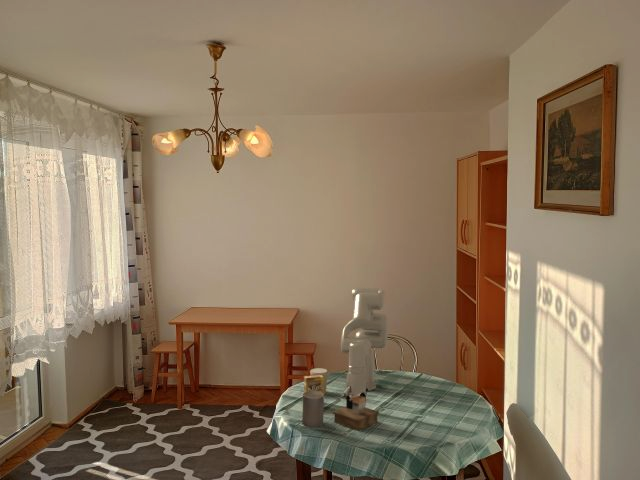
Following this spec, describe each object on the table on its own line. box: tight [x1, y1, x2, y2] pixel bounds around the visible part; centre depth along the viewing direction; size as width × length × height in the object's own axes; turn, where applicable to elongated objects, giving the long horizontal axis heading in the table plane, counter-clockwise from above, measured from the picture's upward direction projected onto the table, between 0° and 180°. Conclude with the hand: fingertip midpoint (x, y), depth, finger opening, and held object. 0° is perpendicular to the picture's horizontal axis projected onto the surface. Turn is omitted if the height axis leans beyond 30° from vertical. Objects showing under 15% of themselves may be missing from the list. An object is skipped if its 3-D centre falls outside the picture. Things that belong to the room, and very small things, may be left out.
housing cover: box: [349, 394, 365, 404], centre depth 267 cm, size 4×7×2 cm, turn 48°
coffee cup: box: [309, 367, 329, 395], centre depth 308 cm, size 9×9×12 cm
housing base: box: [347, 400, 367, 415], centre depth 268 cm, size 5×7×5 cm
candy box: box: [303, 375, 323, 393], centre depth 287 cm, size 9×4×15 cm, turn 107°
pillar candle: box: [301, 391, 325, 428], centre depth 265 cm, size 10×10×15 cm
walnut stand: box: [332, 406, 380, 432], centre depth 268 cm, size 15×15×5 cm
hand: (356, 405), depth 267 cm, fingers open, 9 cm apart
